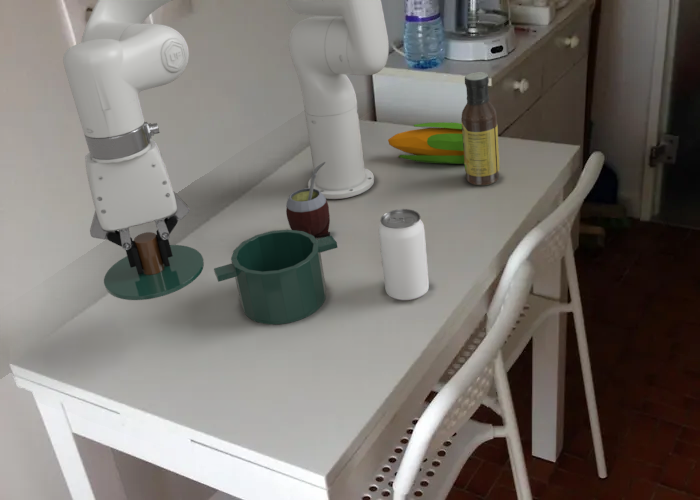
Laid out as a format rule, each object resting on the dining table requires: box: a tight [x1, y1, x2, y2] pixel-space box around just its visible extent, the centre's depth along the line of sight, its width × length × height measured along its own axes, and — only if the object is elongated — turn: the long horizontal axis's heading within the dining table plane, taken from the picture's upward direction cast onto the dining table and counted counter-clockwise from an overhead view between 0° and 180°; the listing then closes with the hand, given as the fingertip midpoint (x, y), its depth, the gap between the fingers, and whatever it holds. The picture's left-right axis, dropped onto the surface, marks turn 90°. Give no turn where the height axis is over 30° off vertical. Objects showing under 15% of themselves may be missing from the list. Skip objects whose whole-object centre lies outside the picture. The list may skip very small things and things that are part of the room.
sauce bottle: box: [461, 71, 501, 186], centre depth 143 cm, size 6×6×20 cm
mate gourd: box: [285, 162, 331, 239], centre depth 132 cm, size 8×8×15 cm
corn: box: [387, 121, 465, 165], centre depth 156 cm, size 7×8×20 cm
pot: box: [213, 229, 338, 325], centre depth 118 cm, size 13×18×8 cm
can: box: [378, 208, 430, 302], centre depth 116 cm, size 6×6×12 cm
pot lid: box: [103, 231, 205, 301], centre depth 110 cm, size 14×14×6 cm
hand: (152, 264), depth 110 cm, fingers closed on pot lid, 3 cm apart
